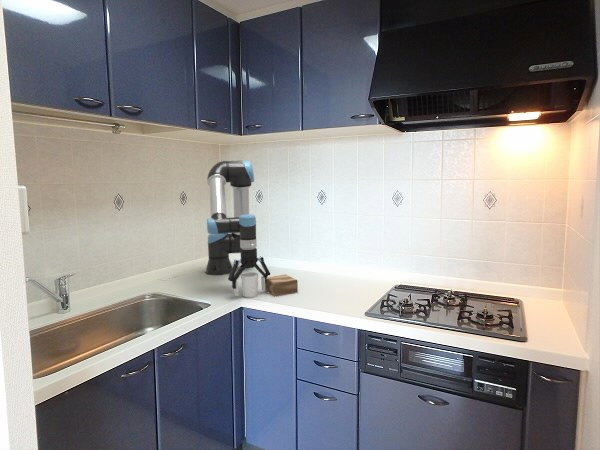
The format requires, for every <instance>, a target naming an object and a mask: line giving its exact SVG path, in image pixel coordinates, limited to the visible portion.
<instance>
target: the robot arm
mask: <svg viewBox="0 0 600 450" xmlns="http://www.w3.org/2000/svg"><path fill="white" fill-rule="evenodd" d="M206 178H207V184H208V186H209V200H210V201H209V202H210V203H209V204H210V205H209V206H210V217H209V218H207V219H206V231H207V234H208V236H207V247H208V248H207V252H208V261H207V264H206V268H205V271H206V274H208V275H212V276H220V275H221V276H222V275H226V274H227V275H228V274H229V275H228V278H227V280H228V281H229V282H231V284H232V289H233V290H234V295H235V296H236V297H238V296H239V285H238V284H239V282H238V280H239V278H240V277H241V274H243V272H244V271H245V270H247V269H248V270H249V269H253V268H255V269H256V271H258V272H259V274H261V275H262V276H261V277H260V278H261V279H260V281H261V291H262V292H266V291H265V284H266V283H267V277H269V276H270V275H271V271H270V270H269V268H268V267H267V264H266V263H265V259H264V257H263V256H259V257H258V249H257V246H258V245H257V242H258V241H257V220H256V219H257V216H256V215H255V214H250V188H251V187H252V183H254V182H255V175H254V170H253V165H252V162H251V161H250V160H221V161H219V162H217V163H215V164H214V165H213V166H212V167H211V169H210V170H209V172H208V174H207V177H206ZM227 183H230V187H231V188H232V189H233V196H232V197H233V217H228V216H227V204H226V203H227V201H226V191H225V189H226V188H225V185H226V184H227ZM231 254H240V259H234V261H233V265H232V262H231V260H230V255H231ZM258 262H259V263H260V265H261V267H262V268H263V269H262V268H260V266H259V265H258ZM240 264H241V265H240ZM238 267H239V269H238ZM263 270H264V271H263Z"/></svg>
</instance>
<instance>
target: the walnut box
mask: <svg viewBox="0 0 600 450" xmlns="http://www.w3.org/2000/svg"><path fill="white" fill-rule="evenodd" d="M298 284H299V283H298V279H296V278H294V277H292V276H289V275H288V274H280V275H273V276H268V277H267V283H266V284H265V291H264V292H267V293H268V292H269V293H268V294H270V295H272V296H273V297H275V296H276V297H279V296H285V295H290V294H291V295H292V294H296V293H298V292H299V291H298V289H299V288H298V287H299V286H298Z"/></svg>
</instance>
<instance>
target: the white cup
mask: <svg viewBox="0 0 600 450" xmlns="http://www.w3.org/2000/svg"><path fill="white" fill-rule="evenodd" d="M240 279H241V289H242V296H243V297H244V298H254V297H258V291H259V274H258V272H252V271H251V272H244V273H243V272H242V273H241V275H240Z"/></svg>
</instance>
